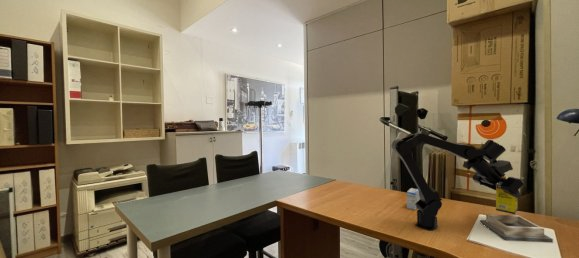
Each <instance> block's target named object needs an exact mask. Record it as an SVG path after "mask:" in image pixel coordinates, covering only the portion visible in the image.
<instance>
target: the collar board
mask: <svg viewBox="0 0 579 258" xmlns="http://www.w3.org/2000/svg"><path fill="white" fill-rule="evenodd" d="M480 222H481V223H482V225H483V226H484V225H485V226H486V227H485V226H484V227H485V228H487V229H488V228H489V229H488V230H490V231H491V232H492V233H494V234H495V235H496V236H498V237H499V238H501V239H502V240H503V241H515V242H536V243H537V242H538V243H539V242H541V243H553V242H554V239H553V238H552V237H550V236H548V235H546V234H545V228H543V227H542V226H540V225H539V224H536V223H534V222H533V221H530V220H529V219H526V218H525V217H523V216H521V215H516V214H511V215H509V214H486V215H485V219H480V220H479V223H480ZM481 223H480V224H481Z"/></svg>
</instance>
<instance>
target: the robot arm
mask: <svg viewBox="0 0 579 258" xmlns="http://www.w3.org/2000/svg"><path fill="white" fill-rule="evenodd" d="M421 144H425V145H429V146H431V147H433V148H438V149H441V150H444V151H447V152H448V153H449V154H451V155H454V156H455V157H457V158H460V159H463V160H465V161H463V164H462V167H463V168H465V169H467V170H470V169H472V170H474V171H475V172H476V173H475V174H473V175H472V180H473V181H474V182H475V183H478V184H479V185H482V186H484V187H487V188H489V189H491V190H493V191H496V184H498V183H500V184H501V189H502V190H503V191H504V192H505V193H507V194H509V195H512V196H514V197H516V198H518V199H521V198H522V195H521V192H520V189H521V188H522V187H523V186H524V185H525V182H524V181H523V180H522V179H521V178H517V177H513V176H508V177H507V178H504V177H505V176H506V174H505V173H507V172H509V171H513V170H514V168H513V165H512V164H511V163H512V162H511V161H509V160H504V159H503V160H501V159H498V158H500V157H501V156H502V155H503V153H505V152H506V148H505V147H504V146H503V145H502V144H499V143H498V142H496V141H494V140H492V139H488V140H486V141H485V143H484V144H483V145H482V146H480V147H479V148H478V147H475V146H473V145H469V144H464V143H463V144H462V143H458V142H457V143H456V142H451V141H448V140H443V139H441V138H439V137H435V136H431V135H428V134H426V133H424V132H415V133H413V134H412V135H408V136H405V137H403V138H401V139H400V138H397V139H394V140H393V141H392V143H391V149H392V150H393V152H394V153H395V155H396V156H398V158H400V160H401V161H402V162H403V164H404V166H405V167H406V168H405V169H407V171H408V173H409V175H410V177H411V179H412V181H413V182H414V185H415V186H416V187H417V188H416V189H418V190H419V201H418V202H416V203H415V205H416V207H417V209H418V210H417V209H416V223H415V224H414V225H415V227H419V228H422V229H424V230H428V231H434V230H435V229H436V228H438V226H439V225H438V217H437V215H438V213H439V211H440V209H441V208H442V206H443V203H442V201H443V199H442V198H441V196H440V195H439V192H438V190H436V189H434V187H430V186H429V185H428V182H427V181H426V179H425V177H424V176H423V174H422V172H421V170H420V168H419V166H418V165H417V163H416V161H415V159H414V156H413V150H412V149H414V148H416V147H417V146H418V145H421ZM497 159H498V160H497Z"/></svg>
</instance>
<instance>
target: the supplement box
mask: <svg viewBox="0 0 579 258" xmlns="http://www.w3.org/2000/svg"><path fill="white" fill-rule="evenodd" d="M495 211H497V212H502V213H507V214H511V215H516V213H517V212H518V198H516V197H514V196H512V195H509V194H507V193H505V192H504V191H503V190H502V189H501V184H500V183H497V184H496V190H495Z"/></svg>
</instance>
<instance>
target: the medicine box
mask: <svg viewBox="0 0 579 258" xmlns="http://www.w3.org/2000/svg"><path fill="white" fill-rule="evenodd" d="M419 200H420V196H419V190H418V188H413V187H411V188H409V189H408V190H407V192H406V209H408V210H412V209H413V210H412V211H417V207H416V205H415V203H416V202H418V201H419Z"/></svg>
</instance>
